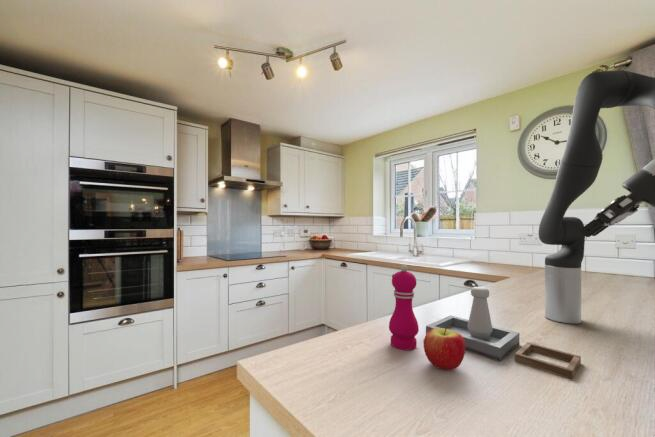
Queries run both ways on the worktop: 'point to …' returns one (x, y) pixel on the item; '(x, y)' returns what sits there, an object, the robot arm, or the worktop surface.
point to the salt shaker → (480, 314)
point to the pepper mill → (403, 311)
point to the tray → (492, 348)
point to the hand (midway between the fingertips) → (586, 233)
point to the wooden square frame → (567, 372)
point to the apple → (444, 348)
